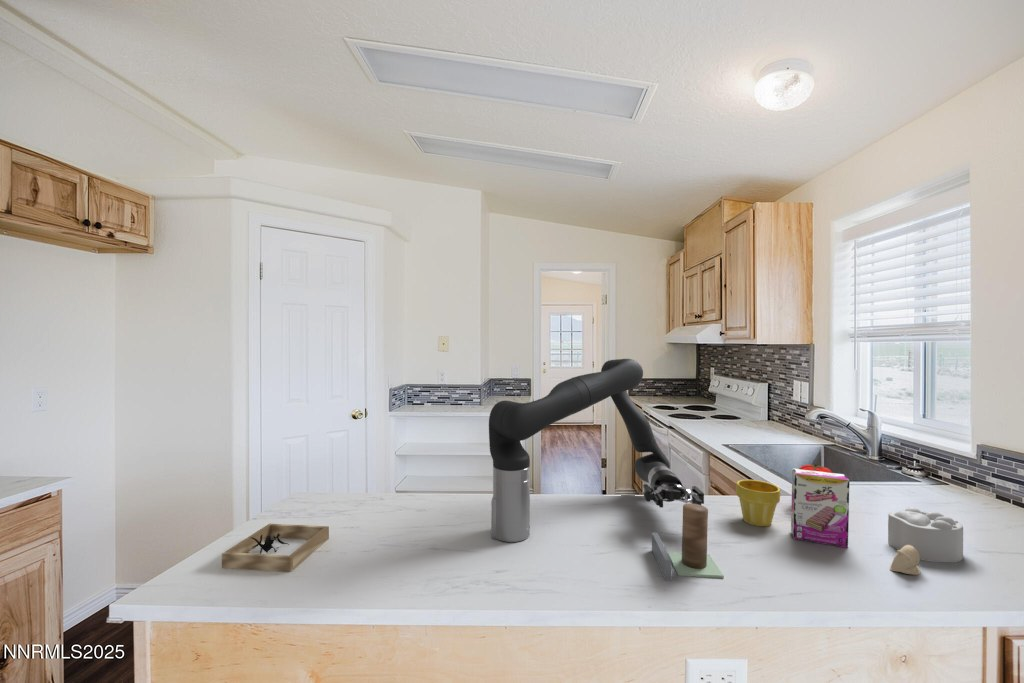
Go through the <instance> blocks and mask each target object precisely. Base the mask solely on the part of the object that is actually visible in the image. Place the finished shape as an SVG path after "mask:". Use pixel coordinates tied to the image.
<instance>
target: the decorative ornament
mask: <svg viewBox="0 0 1024 683" xmlns="http://www.w3.org/2000/svg"><path fill="white" fill-rule="evenodd" d="M919 563H920V559H919V553H918V551H917V549H916V548H914V547H913V546H911V545H905V546H904V547H902V548H901V549H900V550H899V549H897V550H896V554H895V556H894V557H893V559H892V562H891V566H890V568H889V571H890V572H899V573H903V574H907V575H913V576H918V575H920V573H921V570H920V567H919V566H918V565H919Z"/></svg>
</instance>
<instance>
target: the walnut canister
mask: <svg viewBox="0 0 1024 683" xmlns="http://www.w3.org/2000/svg"><path fill="white" fill-rule="evenodd" d="M708 518H709V509H708V508H707V507H706V506H704V505H703V504H701V505H699V504H692V503H684V504H683V505H682V524H681V525H682V530H681V531H682V532H681V534H682V535H681V553H682V563H683V564H684V565H686V566H688V567H690V568H694V569H704V568H706V566H707V554H708V529H709V528H708V526H709V523H708V522H709V520H708Z"/></svg>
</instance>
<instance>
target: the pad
mask: <svg viewBox="0 0 1024 683" xmlns="http://www.w3.org/2000/svg"><path fill="white" fill-rule="evenodd" d="M667 553H668V555H669V557H670V559H671V565H673V568H674V570H675V572H676V574H677V575H678V576H680V577H681V576H682V577H698V578H715V579H724V578H725V575H724V574H723V572H722V571H721V570H720V568H719V567H718V566H717V564H716V563H715V561H714V560H713V558H712V557H711V555H710V554H708V553H707V566H706V568H704V569H694V568H690V567H688V566H686V565H684V564H683V563H682V552H668V551H667Z"/></svg>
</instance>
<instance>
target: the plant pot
mask: <svg viewBox="0 0 1024 683" xmlns="http://www.w3.org/2000/svg"><path fill="white" fill-rule="evenodd" d="M735 486H736V489H735V490H736V491H735V492H736V493H735V494H736V496H737V497H738V498H739V504H740V508H741V513H742V518H743V522H744V521H745V523H747V524H750V525H753V526H757V527H770V526H771V525H772V522H773V520H774V515H775V511H776V507H777V504H779V503H780V499H781V489H780V487H779V486H777V485H776V484H773V483H771V482H767V481H764V480H759V479H758V480H757V479H740V480H738V481H736V485H735Z"/></svg>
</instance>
